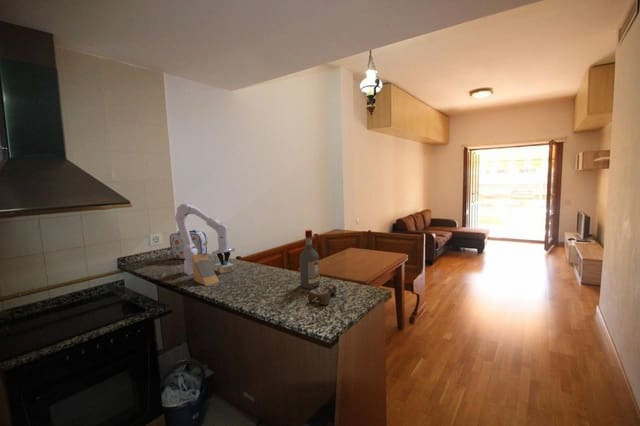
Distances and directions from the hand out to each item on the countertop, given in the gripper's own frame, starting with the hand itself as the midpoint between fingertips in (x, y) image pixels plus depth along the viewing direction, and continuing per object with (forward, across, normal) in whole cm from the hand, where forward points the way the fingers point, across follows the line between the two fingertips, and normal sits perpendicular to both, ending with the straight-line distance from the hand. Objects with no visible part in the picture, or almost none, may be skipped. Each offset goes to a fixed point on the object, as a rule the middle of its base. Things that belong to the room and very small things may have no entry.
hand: (224, 264), depth 197 cm
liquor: (+5, +21, -60) cm, 64 cm away
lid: (+1, 0, 0) cm, 1 cm away
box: (+4, 0, 0) cm, 4 cm away
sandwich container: (+5, -16, -11) cm, 20 cm away
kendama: (+5, +12, -80) cm, 81 cm away
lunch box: (+5, -4, +49) cm, 49 cm away
